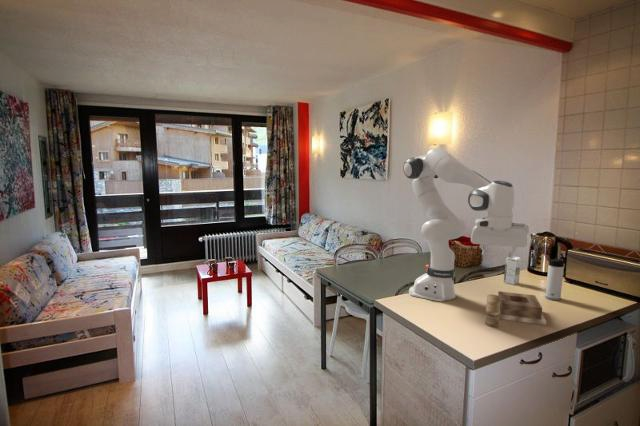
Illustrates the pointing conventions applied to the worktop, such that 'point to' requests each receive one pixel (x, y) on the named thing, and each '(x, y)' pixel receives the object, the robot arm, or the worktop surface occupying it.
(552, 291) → the travel mug
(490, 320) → the oak peg
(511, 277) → the syrup box
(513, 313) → the socket board
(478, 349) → the worktop surface
